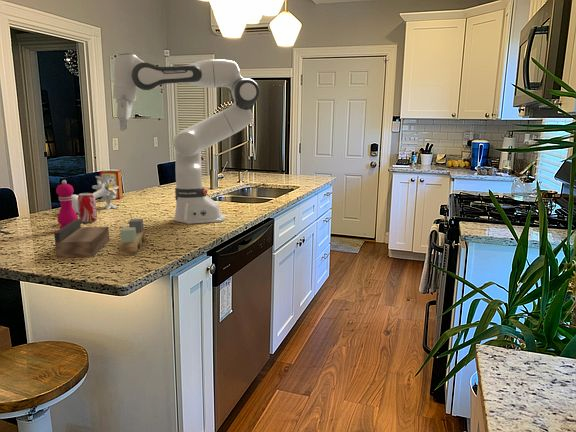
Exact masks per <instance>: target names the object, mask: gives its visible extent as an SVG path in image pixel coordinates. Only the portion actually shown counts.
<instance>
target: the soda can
mask: <svg viewBox="0 0 576 432" xmlns="http://www.w3.org/2000/svg"><path fill="white" fill-rule="evenodd" d="M93 193H94V192H93ZM93 193H92V192H82V193H79V194H78V199H77V200H78V212H79V214H78V219H80V223H83V224H84V223H85V224H88V223H89V224H90V223H94V222H96V221H97V219H98V218H97V217H98V214H97V213H98V211H97V201H96V199H95V197H94V195H93Z"/></svg>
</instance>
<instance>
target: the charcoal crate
mask: <svg viewBox="0 0 576 432" xmlns="http://www.w3.org/2000/svg"><path fill="white" fill-rule="evenodd" d="M128 225H129V227H136V232H142V231H143V230H144V229H145V228H144V219H143V218H131V219H130V220H128Z"/></svg>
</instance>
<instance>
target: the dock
mask: <svg viewBox="0 0 576 432" xmlns="http://www.w3.org/2000/svg"><path fill="white" fill-rule="evenodd" d="M81 226H82V225H81V221H80V219H79V218H78V219H75V220H74V221H72V222H70V223H69V224H67V225H66V226H64V227H63V228H61V229H60V228H59V230H57V231H54V234H53V235H54V242H55V245H54V246H55V253H56V254H55V255H56V258H83V257H84V258H86V257H87V258H88V257H89V258H90V257H94V256H95V255H96V254H98V252H99V251H101V249H102V248H103V247H104V246H105V245H106V244H107V243H108V242H109V241H110V231H109V230H110V229H109V228H110V227H109V226H82V227H81Z"/></svg>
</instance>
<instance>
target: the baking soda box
mask: <svg viewBox="0 0 576 432" xmlns="http://www.w3.org/2000/svg"><path fill="white" fill-rule="evenodd" d="M103 174H106V177H108V176H112V177H111V178H109V179H108V180H109V181H110V182H111V181H112V179H114V180H115V183H114V185H117V186H118V187H119V188H118V189H115V190H117V193H116V194H114V195H113V196H115V197H116V198H115V199H112V200H115V201H116V200H117V201H118V200H121V199H123V198H124V193H123V181H122V180H123V179H122V170H121V169H102V170H99V176H100V177H101V178H102V175H103ZM101 183H102V184H103V183H104V182H102V181H101ZM105 183H106V181H105ZM106 191H107V192H108V190H106ZM112 192H113V191H112ZM102 198H103V197H101V199H102ZM112 200H111V199H110V201H112Z"/></svg>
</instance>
